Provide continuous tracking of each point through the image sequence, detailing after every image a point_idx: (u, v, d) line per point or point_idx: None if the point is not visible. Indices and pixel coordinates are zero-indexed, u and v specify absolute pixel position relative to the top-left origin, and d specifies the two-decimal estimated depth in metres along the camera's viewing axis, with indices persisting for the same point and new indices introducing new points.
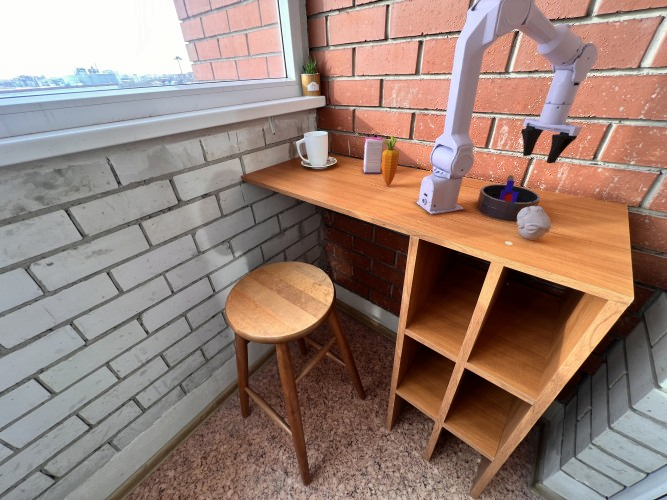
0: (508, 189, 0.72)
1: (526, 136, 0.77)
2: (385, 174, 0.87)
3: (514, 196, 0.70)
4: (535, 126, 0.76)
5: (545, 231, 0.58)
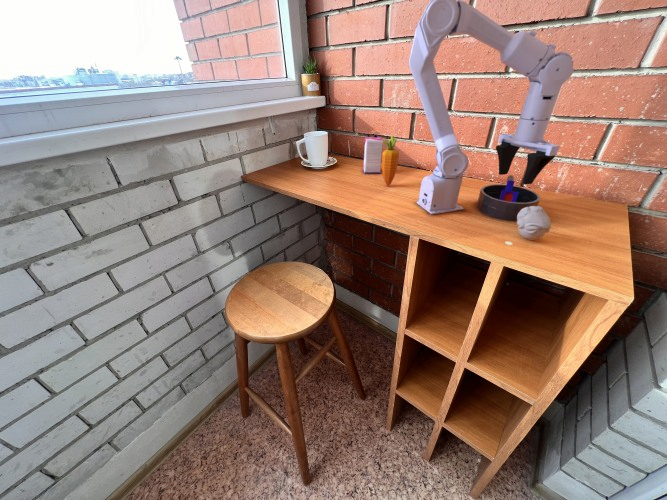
0: (508, 189, 0.72)
1: (501, 153, 0.70)
2: (385, 174, 0.87)
3: (514, 196, 0.70)
4: (511, 142, 0.69)
5: (545, 231, 0.58)
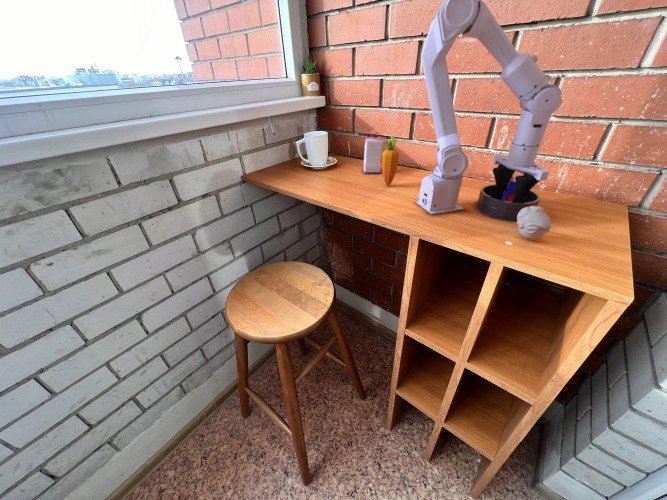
0: (510, 190, 0.71)
1: (498, 176, 0.72)
2: (385, 174, 0.87)
3: None
4: None
5: (545, 231, 0.58)
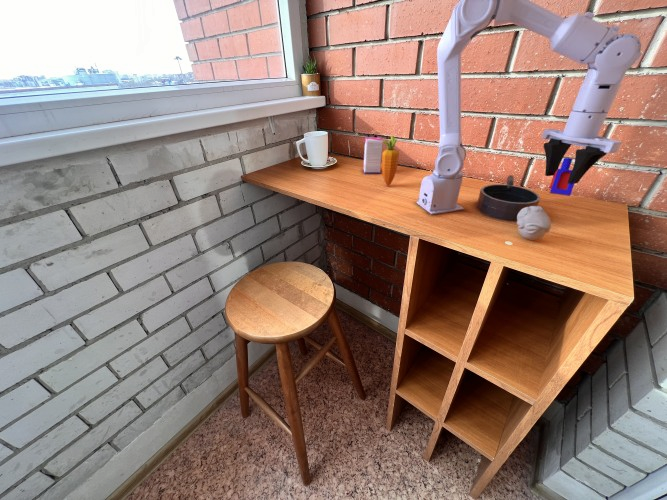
0: (565, 168, 0.62)
1: (550, 152, 0.62)
2: (385, 174, 0.87)
3: None
4: (562, 140, 0.61)
5: (545, 231, 0.58)
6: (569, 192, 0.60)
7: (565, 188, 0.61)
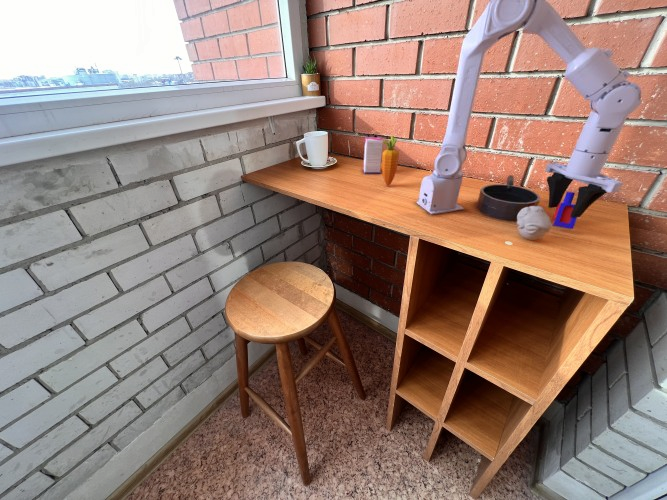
0: (567, 202, 0.63)
1: (553, 186, 0.64)
2: (385, 174, 0.87)
3: None
4: (565, 174, 0.63)
5: (545, 231, 0.58)
6: (572, 226, 0.62)
7: (568, 221, 0.63)
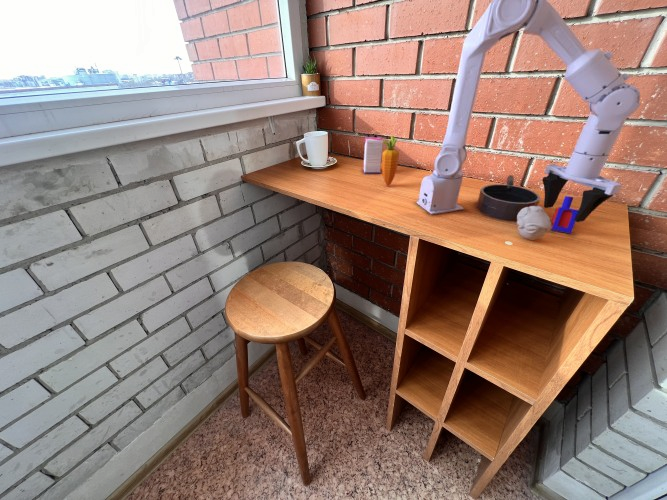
0: (566, 206, 0.64)
1: (548, 186, 0.65)
2: (385, 174, 0.87)
3: (574, 215, 0.62)
4: (560, 175, 0.64)
5: (545, 231, 0.58)
6: (570, 230, 0.62)
7: (566, 226, 0.63)
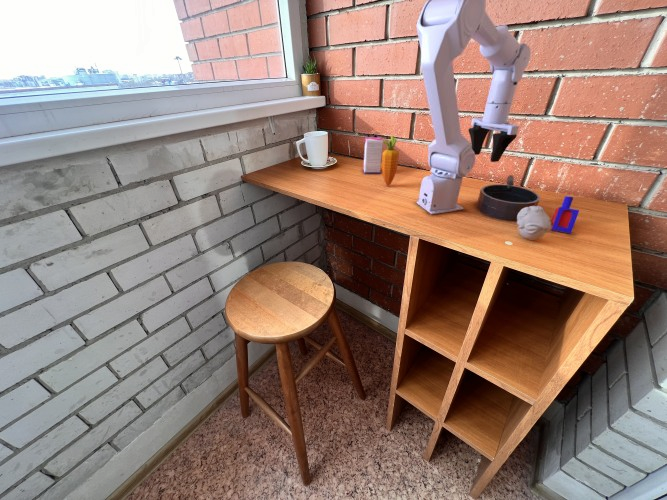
0: (566, 206, 0.64)
1: (473, 135, 0.78)
2: (385, 174, 0.87)
3: (574, 215, 0.62)
4: (481, 125, 0.77)
5: (545, 231, 0.58)
6: (570, 230, 0.62)
7: (566, 226, 0.63)
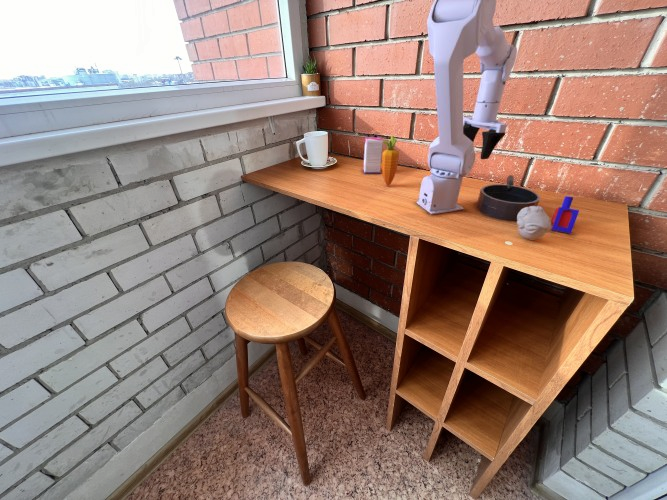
0: (566, 206, 0.64)
1: (463, 133, 0.81)
2: (385, 174, 0.87)
3: (574, 215, 0.62)
4: (471, 124, 0.80)
5: (545, 231, 0.58)
6: (570, 230, 0.62)
7: (566, 226, 0.63)
